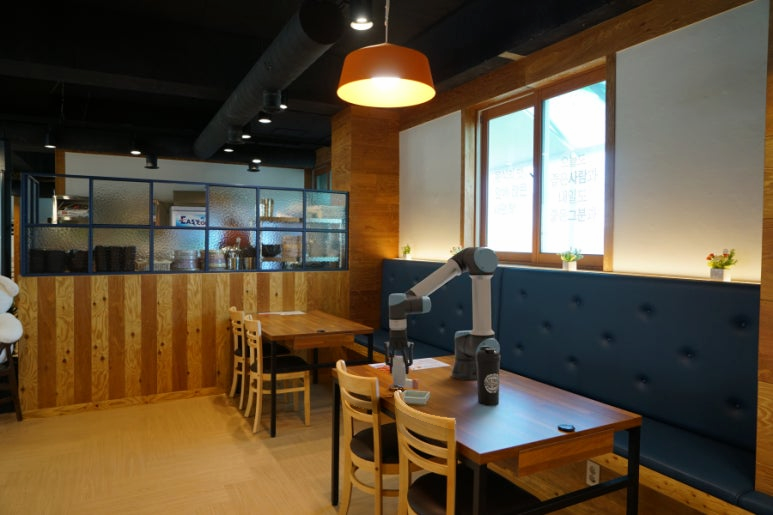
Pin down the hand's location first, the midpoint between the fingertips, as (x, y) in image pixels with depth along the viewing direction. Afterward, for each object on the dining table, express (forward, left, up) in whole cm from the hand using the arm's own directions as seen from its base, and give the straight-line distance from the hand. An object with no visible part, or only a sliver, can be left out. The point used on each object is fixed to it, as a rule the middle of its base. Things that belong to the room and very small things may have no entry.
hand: (399, 381), depth 228 cm
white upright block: (0, 0, -1) cm, 1 cm away
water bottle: (+5, +39, -6) cm, 40 cm away
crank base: (-9, -4, -6) cm, 11 cm away
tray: (+8, +8, -6) cm, 13 cm away
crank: (-7, +1, -4) cm, 8 cm away
